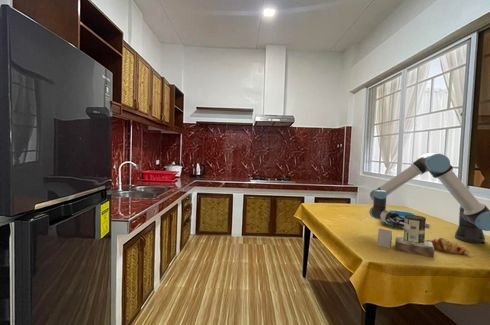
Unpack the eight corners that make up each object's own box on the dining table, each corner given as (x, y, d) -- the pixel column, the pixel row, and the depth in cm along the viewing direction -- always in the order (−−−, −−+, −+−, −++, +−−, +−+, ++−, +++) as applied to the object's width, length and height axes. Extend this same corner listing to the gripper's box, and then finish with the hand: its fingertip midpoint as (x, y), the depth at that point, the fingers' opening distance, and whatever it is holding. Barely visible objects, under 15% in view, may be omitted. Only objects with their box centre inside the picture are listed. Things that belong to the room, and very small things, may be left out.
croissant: (468, 260, 147) (470, 246, 150) (468, 256, 140) (470, 241, 143) (423, 249, 162) (425, 236, 164) (421, 245, 155) (423, 231, 157)
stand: (431, 250, 150) (432, 241, 150) (433, 257, 141) (434, 247, 141) (395, 244, 159) (395, 235, 159) (394, 250, 150) (395, 241, 150)
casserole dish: (416, 231, 189) (416, 221, 189) (381, 226, 201) (381, 216, 201) (415, 220, 220) (416, 212, 220) (385, 216, 232) (386, 208, 232)
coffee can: (419, 239, 154) (421, 215, 153) (428, 245, 144) (429, 219, 143) (400, 237, 156) (401, 213, 155) (407, 243, 146) (408, 218, 145)
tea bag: (390, 248, 152) (391, 231, 152) (377, 245, 156) (378, 229, 156) (391, 247, 155) (392, 230, 155) (378, 244, 159) (379, 227, 159)
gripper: (406, 222, 170) (437, 232, 149) (373, 224, 164) (400, 234, 143) (406, 211, 170) (438, 219, 149) (373, 212, 164) (401, 221, 143)
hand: (419, 227), depth 146 cm, fingers open, 13 cm apart
